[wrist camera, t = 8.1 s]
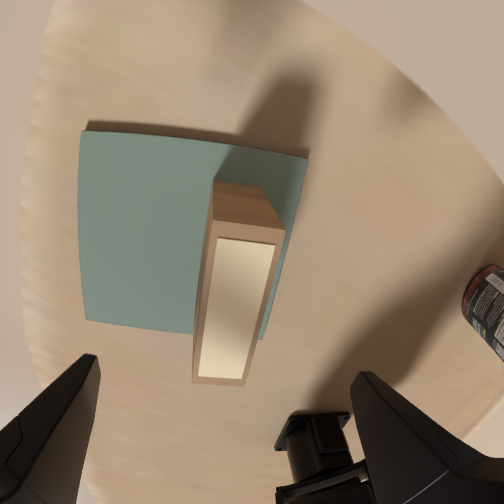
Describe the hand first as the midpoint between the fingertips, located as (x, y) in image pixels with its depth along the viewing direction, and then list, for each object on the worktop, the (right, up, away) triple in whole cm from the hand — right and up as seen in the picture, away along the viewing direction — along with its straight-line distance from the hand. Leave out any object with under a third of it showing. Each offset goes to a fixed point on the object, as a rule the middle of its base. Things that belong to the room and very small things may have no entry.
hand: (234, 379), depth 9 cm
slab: (-1, +4, +8) cm, 9 cm away
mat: (-4, +4, +8) cm, 10 cm away
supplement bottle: (+22, +1, +14) cm, 26 cm away
